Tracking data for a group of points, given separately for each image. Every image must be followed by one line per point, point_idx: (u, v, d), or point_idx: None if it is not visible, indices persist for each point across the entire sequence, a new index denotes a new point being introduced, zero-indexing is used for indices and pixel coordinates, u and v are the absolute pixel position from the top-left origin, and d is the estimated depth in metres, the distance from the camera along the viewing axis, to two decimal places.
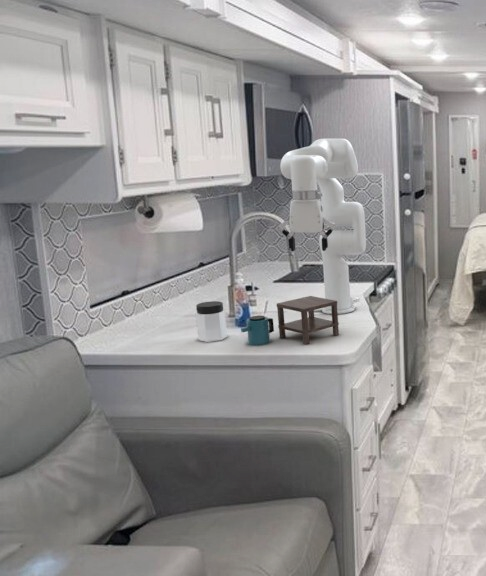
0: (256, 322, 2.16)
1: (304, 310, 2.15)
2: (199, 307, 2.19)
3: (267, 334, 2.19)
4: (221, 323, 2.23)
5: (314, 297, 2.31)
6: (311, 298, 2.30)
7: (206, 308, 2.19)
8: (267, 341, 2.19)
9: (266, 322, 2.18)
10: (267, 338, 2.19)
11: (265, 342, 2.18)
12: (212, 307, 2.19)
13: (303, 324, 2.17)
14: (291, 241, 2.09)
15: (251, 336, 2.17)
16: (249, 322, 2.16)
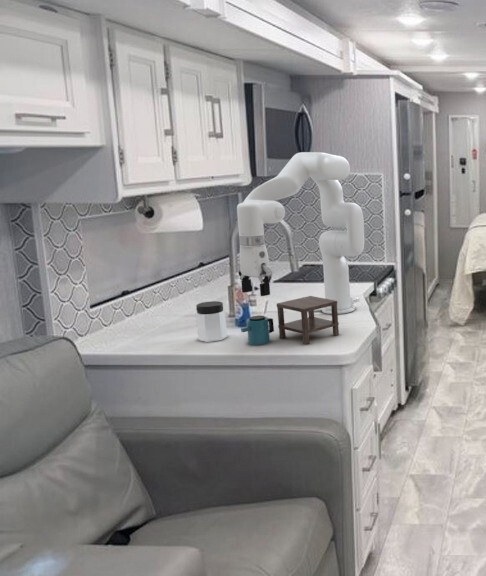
0: (256, 322, 2.16)
1: (304, 310, 2.15)
2: (199, 307, 2.19)
3: (267, 334, 2.19)
4: (221, 323, 2.23)
5: (314, 297, 2.31)
6: (311, 298, 2.30)
7: (206, 308, 2.19)
8: (267, 341, 2.19)
9: (266, 322, 2.18)
10: (267, 338, 2.19)
11: (265, 342, 2.18)
12: (212, 307, 2.19)
13: (303, 324, 2.17)
14: (242, 283, 2.17)
15: (251, 336, 2.17)
16: (249, 322, 2.16)
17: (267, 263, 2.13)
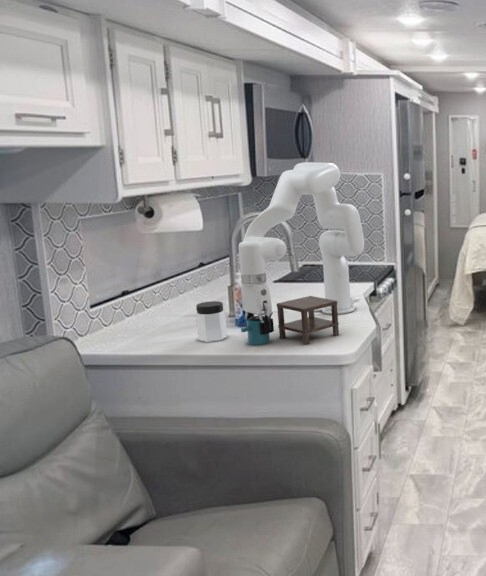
0: (256, 322, 2.16)
1: (304, 310, 2.15)
2: (199, 307, 2.19)
3: (267, 334, 2.19)
4: (221, 323, 2.23)
5: (314, 297, 2.31)
6: (311, 298, 2.30)
7: (206, 308, 2.19)
8: (267, 341, 2.19)
9: None
10: (267, 338, 2.19)
11: (265, 342, 2.18)
12: (212, 307, 2.19)
13: (303, 324, 2.17)
14: (246, 322, 2.20)
15: (251, 336, 2.17)
16: (249, 322, 2.16)
17: (269, 300, 2.16)
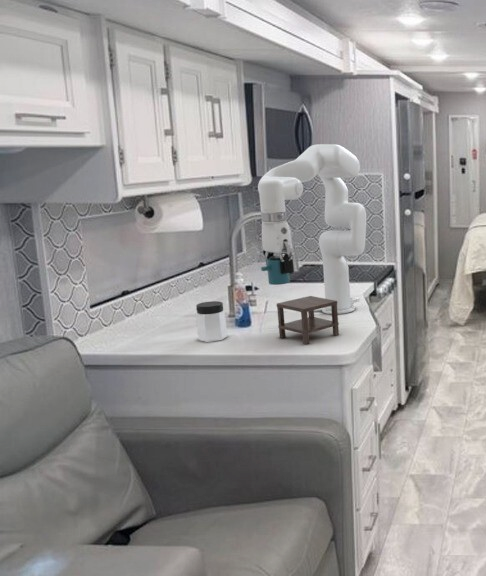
0: (276, 261, 2.15)
1: (304, 310, 2.15)
2: (199, 307, 2.19)
3: (287, 274, 2.18)
4: (221, 323, 2.23)
5: (314, 297, 2.31)
6: (311, 298, 2.30)
7: (206, 308, 2.19)
8: (287, 281, 2.18)
9: None
10: (287, 278, 2.18)
11: (285, 282, 2.18)
12: (212, 307, 2.19)
13: (303, 324, 2.17)
14: (266, 262, 2.19)
15: (272, 276, 2.16)
16: (269, 261, 2.15)
17: (289, 239, 2.15)
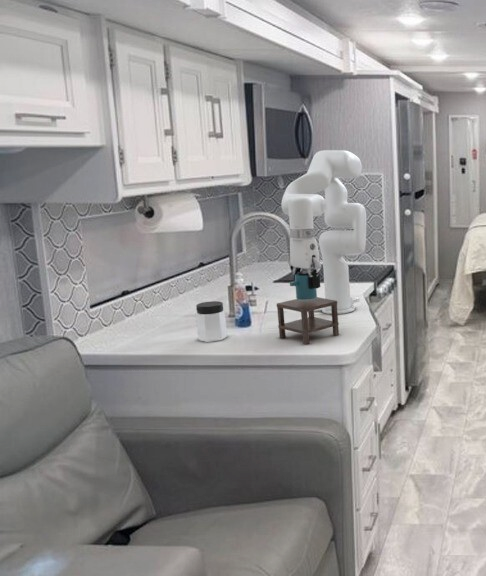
0: (304, 276, 2.19)
1: (304, 310, 2.15)
2: (199, 307, 2.19)
3: (315, 289, 2.23)
4: (221, 323, 2.23)
5: None
6: None
7: (206, 308, 2.19)
8: (314, 296, 2.23)
9: None
10: (314, 293, 2.23)
11: (313, 297, 2.22)
12: (212, 307, 2.19)
13: (303, 324, 2.17)
14: (294, 277, 2.24)
15: (300, 291, 2.20)
16: (298, 276, 2.20)
17: (317, 255, 2.20)
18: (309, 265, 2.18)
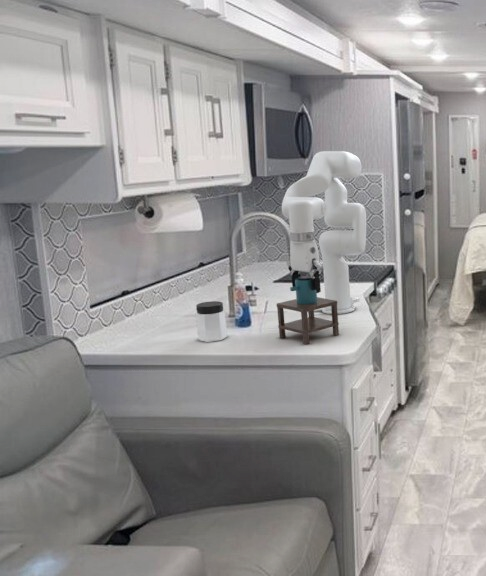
0: (305, 281, 2.20)
1: (304, 310, 2.15)
2: (199, 307, 2.19)
3: (315, 294, 2.23)
4: (221, 323, 2.23)
5: None
6: None
7: (206, 308, 2.19)
8: (315, 301, 2.23)
9: None
10: (315, 298, 2.23)
11: (313, 301, 2.23)
12: (212, 307, 2.19)
13: (303, 324, 2.17)
14: (292, 277, 2.24)
15: (300, 296, 2.21)
16: (298, 281, 2.20)
17: (317, 258, 2.20)
18: (309, 268, 2.18)
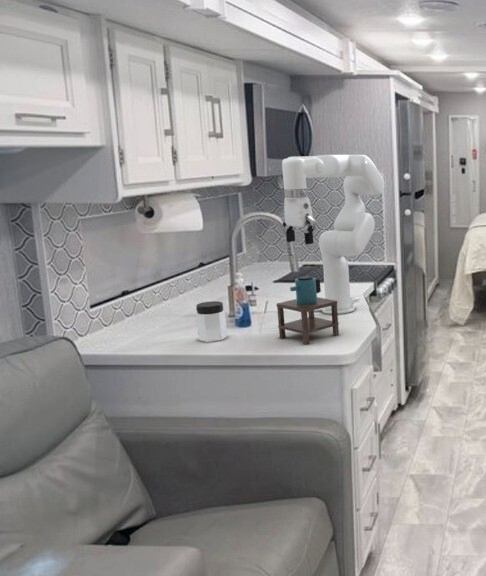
0: (305, 281, 2.20)
1: (304, 310, 2.15)
2: (199, 307, 2.19)
3: (315, 294, 2.23)
4: (221, 323, 2.23)
5: None
6: None
7: (206, 308, 2.19)
8: (315, 301, 2.23)
9: (314, 282, 2.22)
10: (315, 298, 2.23)
11: (313, 301, 2.23)
12: (212, 307, 2.19)
13: (303, 324, 2.17)
14: (286, 233, 2.37)
15: (300, 296, 2.21)
16: (298, 281, 2.20)
17: (310, 214, 2.32)
18: (303, 223, 2.30)
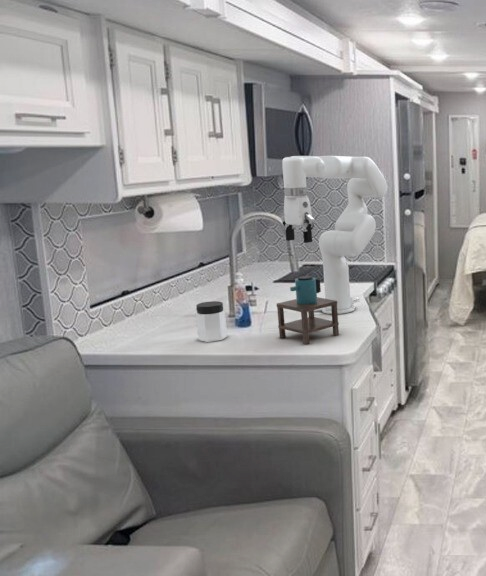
0: (305, 281, 2.20)
1: (304, 310, 2.15)
2: (199, 307, 2.19)
3: (315, 294, 2.23)
4: (221, 323, 2.23)
5: None
6: None
7: (206, 308, 2.19)
8: (315, 301, 2.23)
9: (314, 282, 2.22)
10: (315, 298, 2.23)
11: (313, 301, 2.23)
12: (212, 307, 2.19)
13: (303, 324, 2.17)
14: (286, 231, 2.38)
15: (300, 296, 2.21)
16: (298, 281, 2.20)
17: (309, 213, 2.33)
18: (302, 222, 2.31)
